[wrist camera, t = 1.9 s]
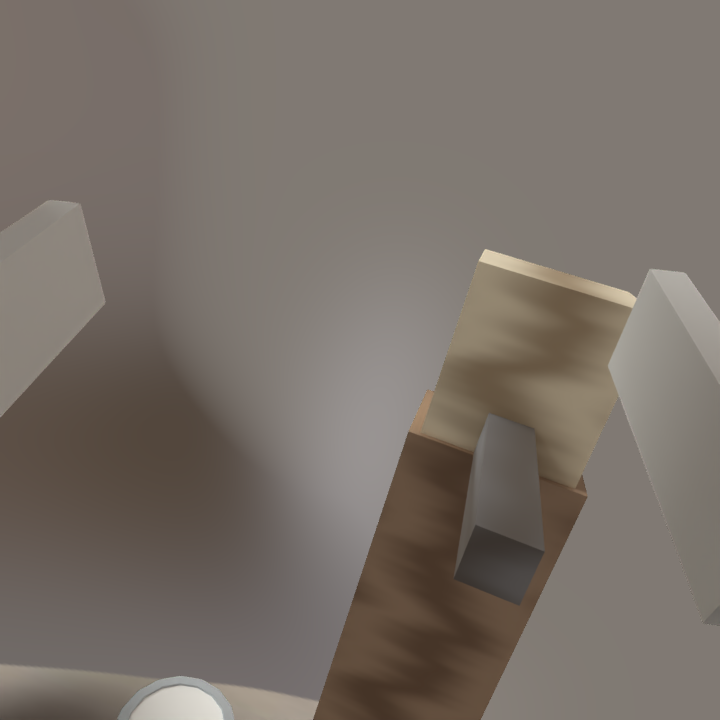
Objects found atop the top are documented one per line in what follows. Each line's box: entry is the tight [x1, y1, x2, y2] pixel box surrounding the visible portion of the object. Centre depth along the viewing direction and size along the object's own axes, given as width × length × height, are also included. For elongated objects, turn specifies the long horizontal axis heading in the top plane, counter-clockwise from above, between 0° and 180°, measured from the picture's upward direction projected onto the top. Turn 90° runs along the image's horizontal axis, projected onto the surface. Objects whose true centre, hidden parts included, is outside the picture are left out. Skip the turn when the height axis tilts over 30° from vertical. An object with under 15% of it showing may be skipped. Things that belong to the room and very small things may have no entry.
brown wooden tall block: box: [313, 390, 587, 720], centre depth 32 cm, size 8×6×29 cm
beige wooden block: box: [420, 249, 637, 606], centre depth 22 cm, size 7×14×8 cm, turn 164°
